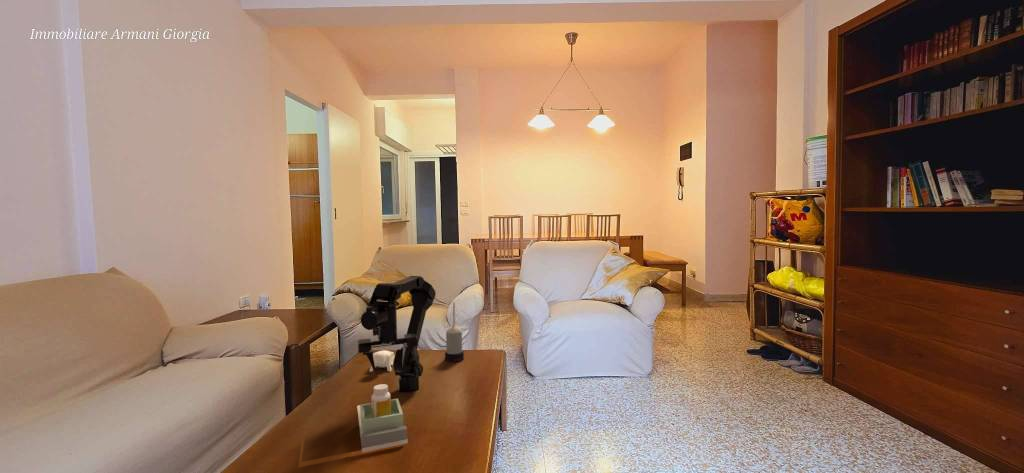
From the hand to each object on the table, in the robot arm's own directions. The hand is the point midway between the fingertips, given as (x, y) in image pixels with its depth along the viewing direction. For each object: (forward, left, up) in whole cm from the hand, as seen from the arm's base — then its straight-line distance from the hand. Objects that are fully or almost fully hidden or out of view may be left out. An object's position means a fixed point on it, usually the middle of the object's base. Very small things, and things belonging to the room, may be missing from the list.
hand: (388, 368), depth 143 cm
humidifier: (-31, -37, -13) cm, 50 cm away
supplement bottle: (+4, +15, -9) cm, 18 cm away
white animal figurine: (-1, -37, -13) cm, 39 cm away
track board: (+4, +11, -13) cm, 17 cm away
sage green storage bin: (+4, +15, -12) cm, 20 cm away
